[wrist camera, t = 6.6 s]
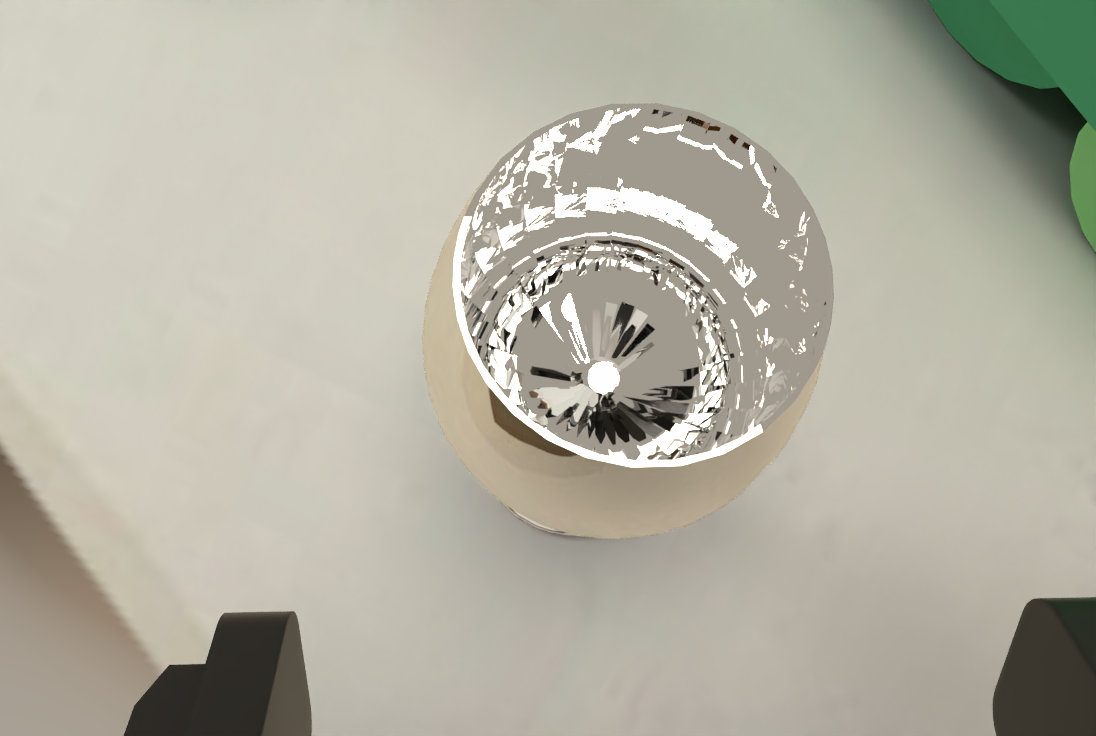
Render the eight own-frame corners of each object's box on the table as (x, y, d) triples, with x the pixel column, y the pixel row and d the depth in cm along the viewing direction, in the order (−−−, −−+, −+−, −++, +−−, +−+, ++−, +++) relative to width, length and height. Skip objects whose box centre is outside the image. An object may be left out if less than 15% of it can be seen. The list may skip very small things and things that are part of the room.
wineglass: (630, 610, 23) (764, 606, 12) (403, 493, 24) (315, 377, 12) (735, 386, 25) (949, 185, 13) (518, 279, 25) (539, -11, 13)
